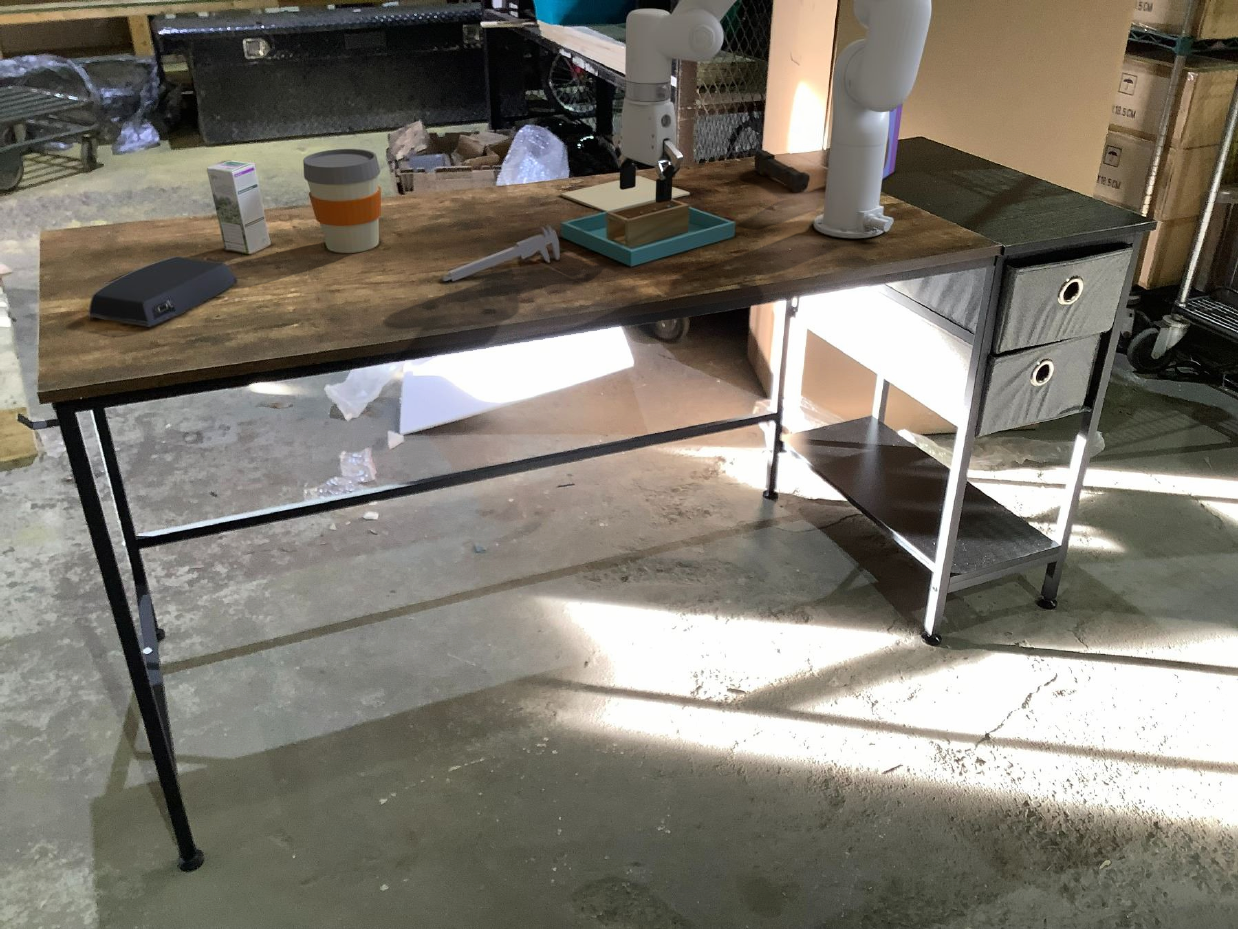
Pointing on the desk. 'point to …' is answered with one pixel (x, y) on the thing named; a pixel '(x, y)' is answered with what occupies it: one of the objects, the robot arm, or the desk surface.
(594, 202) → the mat
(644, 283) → the desk surface
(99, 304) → the hard drive
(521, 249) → the caliper
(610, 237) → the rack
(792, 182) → the hand tool
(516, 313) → the desk surface
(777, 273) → the desk surface
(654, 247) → the teal tray
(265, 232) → the syrup box
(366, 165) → the reusable coffee cup
